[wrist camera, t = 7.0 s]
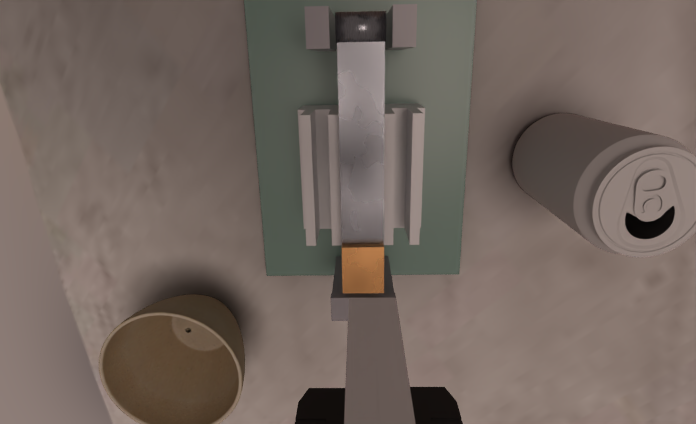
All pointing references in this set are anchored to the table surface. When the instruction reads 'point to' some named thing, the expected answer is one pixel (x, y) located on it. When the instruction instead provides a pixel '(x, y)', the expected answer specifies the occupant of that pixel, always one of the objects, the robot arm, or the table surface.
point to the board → (323, 135)
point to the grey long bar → (361, 147)
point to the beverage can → (610, 182)
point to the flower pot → (175, 362)
